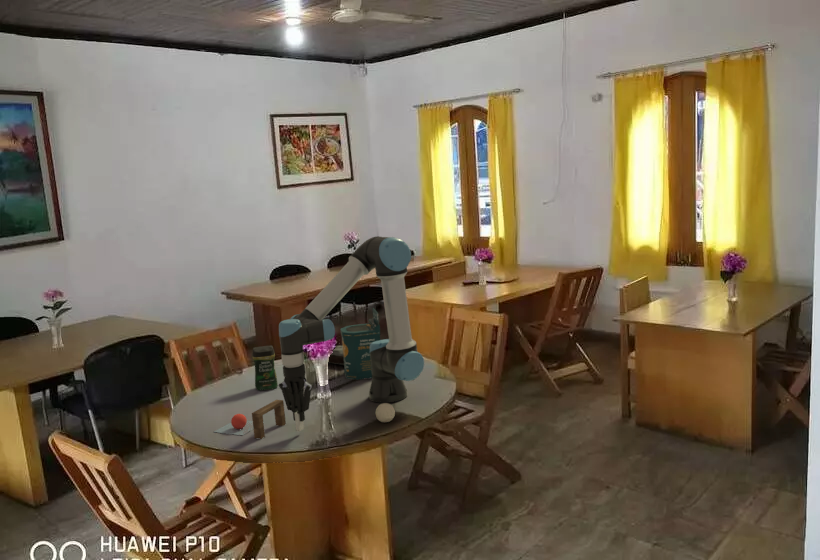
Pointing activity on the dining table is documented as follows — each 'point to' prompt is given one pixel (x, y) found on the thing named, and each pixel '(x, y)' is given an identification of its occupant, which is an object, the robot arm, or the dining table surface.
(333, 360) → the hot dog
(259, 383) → the coffee jar
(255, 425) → the bridge
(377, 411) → the baseball
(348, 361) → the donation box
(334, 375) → the dining table surface
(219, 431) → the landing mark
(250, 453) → the dining table surface
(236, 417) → the ball
